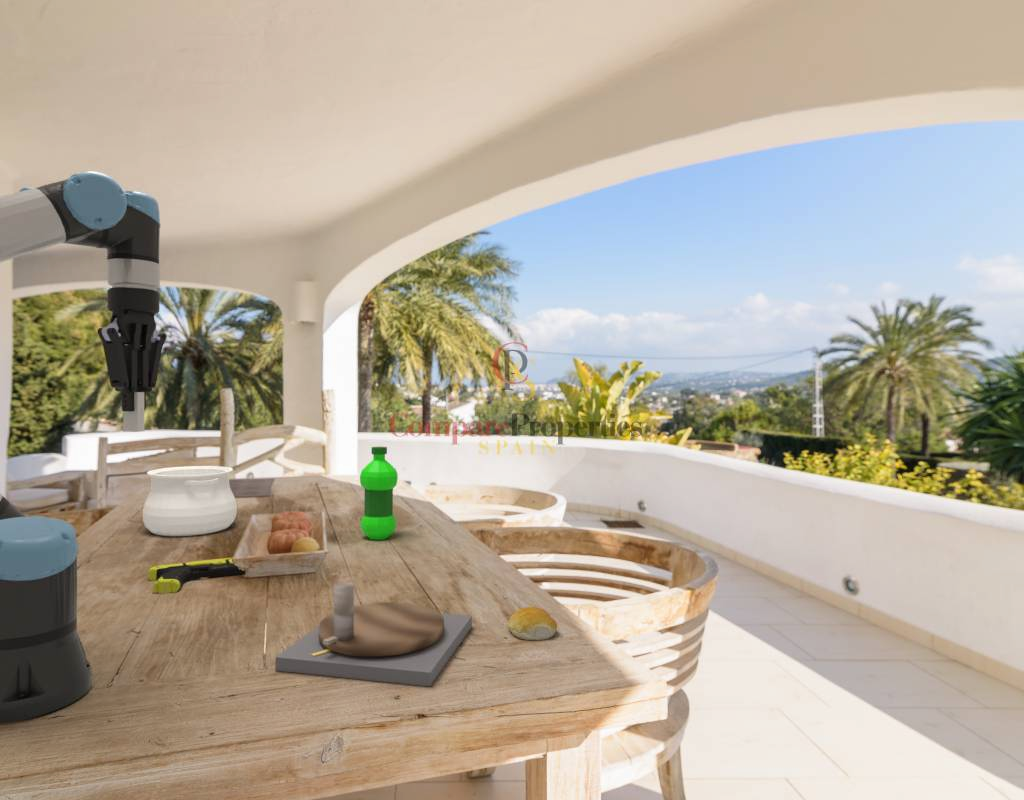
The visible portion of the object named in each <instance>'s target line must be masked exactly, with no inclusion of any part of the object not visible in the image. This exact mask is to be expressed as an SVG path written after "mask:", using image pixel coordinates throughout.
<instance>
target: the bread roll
mask: <svg viewBox="0 0 1024 800" xmlns="http://www.w3.org/2000/svg"><path fill="white" fill-rule="evenodd" d="M557 624H558V623H557V621H556V620H555V619H554V618H553V617H552V616H551V615H550V614H549V613H548V612H547V611H546V610H545V609H543V608H541V607H536V606H526V607H521V608H520V609H518V610H515V612H514V613H513V614H512V615H511V616H510V618H509V619H508V623H507V628H508V630H509V631H510V632H511V633H512V636H514V637H516V638H518V639H521V640H526V641H540V640H547V639H548V640H549V639H550V638H552V637H553V636H554V635H555V634H556V632H557V630H558V625H557Z"/></svg>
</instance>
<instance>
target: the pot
mask: <svg viewBox="0 0 1024 800" xmlns="http://www.w3.org/2000/svg"><path fill="white" fill-rule="evenodd" d="M233 472H234V468H233V467H229V466H220V465H187V466H184V465H183V466H174V467H173V466H172V467H163V468H162V467H161V468H158V469H157V468H156V469H152V470H148V471H147V472H146V475H147V476H149V477H150V491H149V492H148V494H147V498H146V499H145V503H143V510H142V522H143V524H144V527H145V528H146V529H147V530H148V531H149V532H150V533H152V534H153V535H157V536H162V537H163V536H165V537H190V536H191V537H194V536H201V535H207V534H213V533H217V532H218V533H219V532H221V531H223V530H226V529H228V528H229V527H230V526H231V525H232V524H233V522H234V521H235V519H236V516H237V511H238V509H237V507H238V506H237V500H236V497H235V495H234V493H233V491H232V488H231V486H230V485H231V484H230V474H231V473H233Z"/></svg>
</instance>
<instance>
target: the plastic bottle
mask: <svg viewBox="0 0 1024 800" xmlns="http://www.w3.org/2000/svg"><path fill="white" fill-rule="evenodd" d="M387 453H388V447H387V446H372V447H371V455H373V459H372V460H371V461H370V462H369V463H367V464H366V465H365V467H363V469H362V470H361V473H360V474H359V483H360V486H361V487H362V488H363V489H364V512H363V513H364V515H363V517H362V518H361V522H360V529H361V532H363V534H364V536H366V537H367V538H368V539H370V540H375V541H376V540H377V541H378V540H386V539H388V537H390V536H391V535H393V533H394V532H395V529H396V528H397V527H396V526H397V520H396V517H395V514H394V510H393V509H394V507H393V504H394V488H395V487H396V486H397V484H398V471H397V468H395V467H394V466H393V465H392V464H391V463H390V462H389V461H387V460H386V455H388V454H387Z"/></svg>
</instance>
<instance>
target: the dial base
mask: <svg viewBox="0 0 1024 800" xmlns="http://www.w3.org/2000/svg"><path fill="white" fill-rule="evenodd" d="M439 613H440V614H441V615H442V616H443V618H444V633H443V635H442V637H441V638H440V639H439V640H438V641H436V642H435V643H433V644H431V645H429V646H427V647H425V648H422V649H420V650H416V651H413V652H409V653H404V654H399V655H391V656H377V657H366V656H353V655H346V654H342V653H338V652H335V651H332V650H330V649H328V648H326V647H325V646H323V645H322V644H321V643H320V641H319V624H318V625H317V626H316V627H314V628H313V629H311V630H310V631H309V632H307V633H306V634H305V635H304V636H302V637H300V638H299V639H298V640H297V641H295V642H294V643H293V644H292V645H290V646H288V647H287V648H286V649H285V650H283V651H282V652H280V653H279V654H278V655H277V656H275V671H277V672H286V673H287V672H288V673H296V674H304V675H314V676H325V677H334V678H335V677H336V678H343V679H353V680H354V679H355V680H361V681H362V680H363V681H373V682H384V683H392V684H401V685H403V684H404V685H412V686H420V687H431V686H432V685H433V684H434V681H435V680H436V679H437V677H438V676H439V674H440V673H441V671H443V669H444V667H445V666H446V664H447V663H448V662H449V660H450V659H451V657H452V656H453V654H454V653H455V652H456V650H457V649H458V648H459V646H461V643H462V642H463V641H464V639H465V638H466V636H467V635H468V633H469V632H470V630H471V629H472V628H473V615H470V614H469V615H468V614H467V615H466V614H457V613H456V614H455V613H446V612H444V613H443V612H439Z"/></svg>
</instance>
